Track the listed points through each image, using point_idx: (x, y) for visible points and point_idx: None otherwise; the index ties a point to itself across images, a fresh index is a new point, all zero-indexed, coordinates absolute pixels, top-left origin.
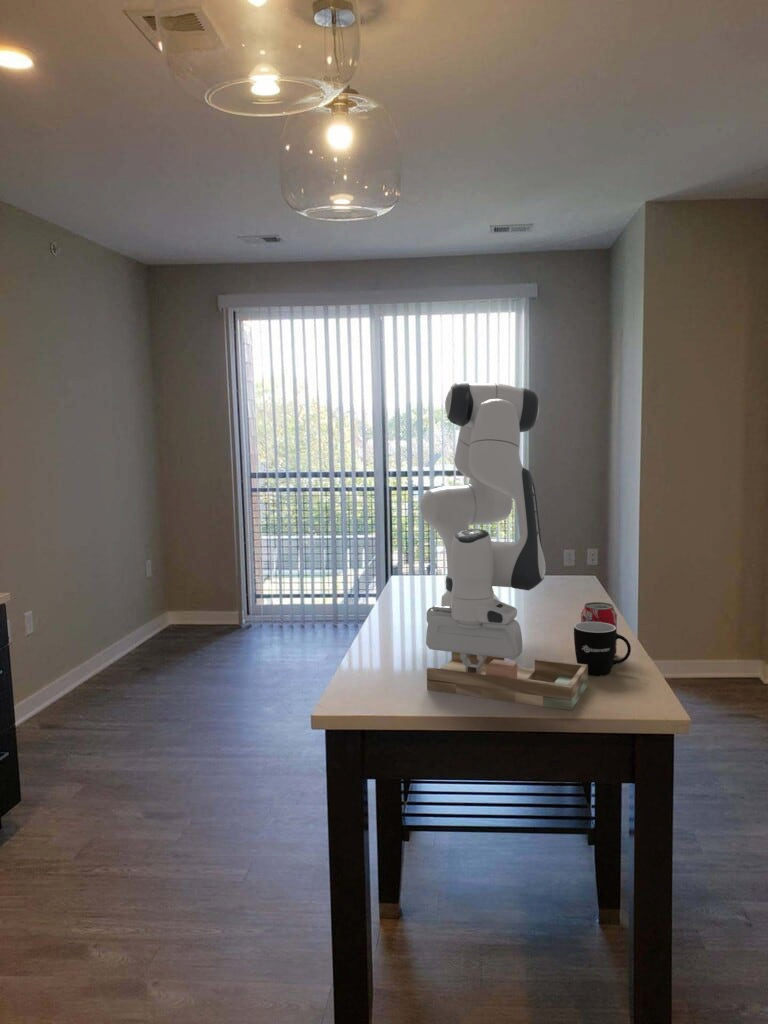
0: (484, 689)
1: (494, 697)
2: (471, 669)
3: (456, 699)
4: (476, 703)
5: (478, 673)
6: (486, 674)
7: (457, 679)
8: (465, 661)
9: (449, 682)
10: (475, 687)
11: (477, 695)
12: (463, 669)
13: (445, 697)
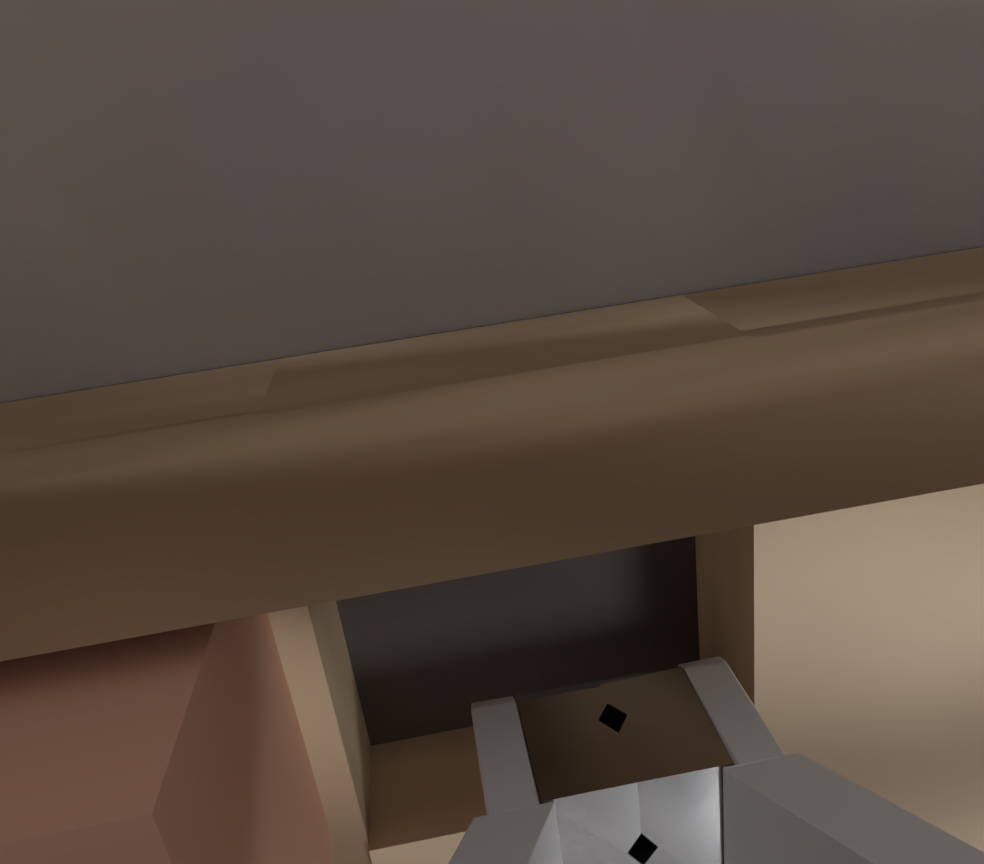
0: (207, 411)
1: (61, 400)
2: (632, 736)
3: (577, 79)
4: (203, 80)
5: (475, 719)
6: (194, 664)
7: (752, 358)
8: (838, 840)
9: (870, 312)
10: (374, 385)
11: (345, 352)
12: None
13: (769, 69)
